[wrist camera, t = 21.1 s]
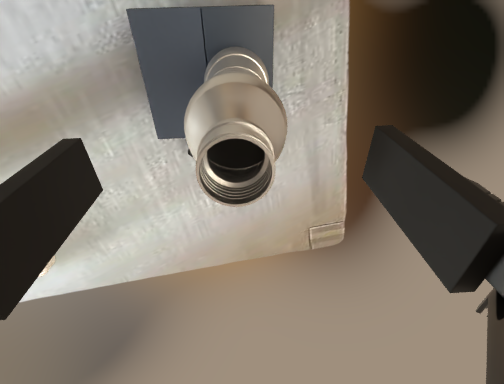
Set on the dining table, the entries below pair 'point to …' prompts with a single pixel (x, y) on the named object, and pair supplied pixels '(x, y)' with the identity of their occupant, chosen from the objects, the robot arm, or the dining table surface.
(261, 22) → the carton
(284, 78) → the dining table surface
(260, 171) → the plastic bottle
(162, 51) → the flap
